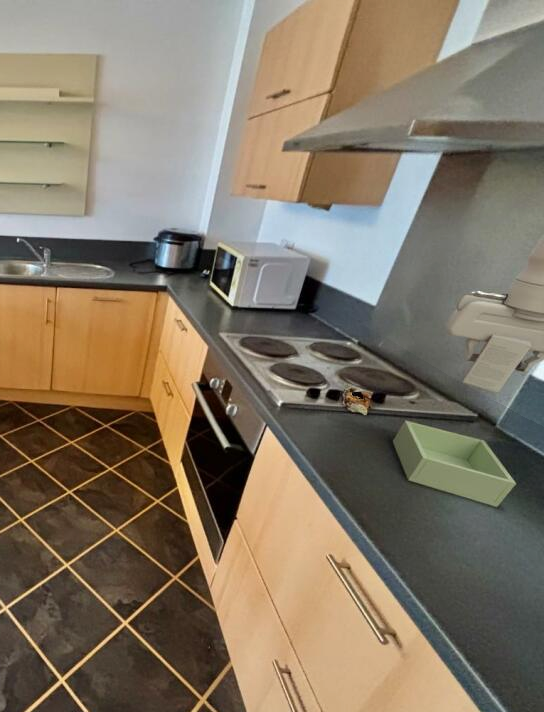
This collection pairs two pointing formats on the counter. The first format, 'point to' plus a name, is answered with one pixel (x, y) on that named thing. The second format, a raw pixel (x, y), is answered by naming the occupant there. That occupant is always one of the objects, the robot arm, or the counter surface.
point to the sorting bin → (452, 463)
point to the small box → (496, 362)
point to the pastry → (356, 400)
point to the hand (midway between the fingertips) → (493, 365)
